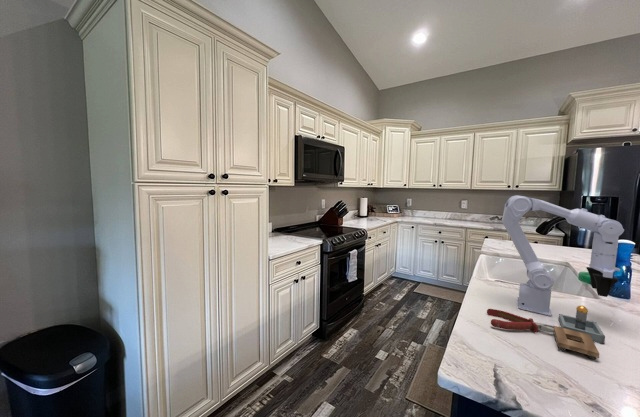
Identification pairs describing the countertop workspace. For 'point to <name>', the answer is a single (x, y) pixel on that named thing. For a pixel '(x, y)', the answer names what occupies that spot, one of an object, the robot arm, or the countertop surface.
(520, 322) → the pliers
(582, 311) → the stop pin
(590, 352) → the brown frame
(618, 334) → the countertop surface
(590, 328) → the tray
